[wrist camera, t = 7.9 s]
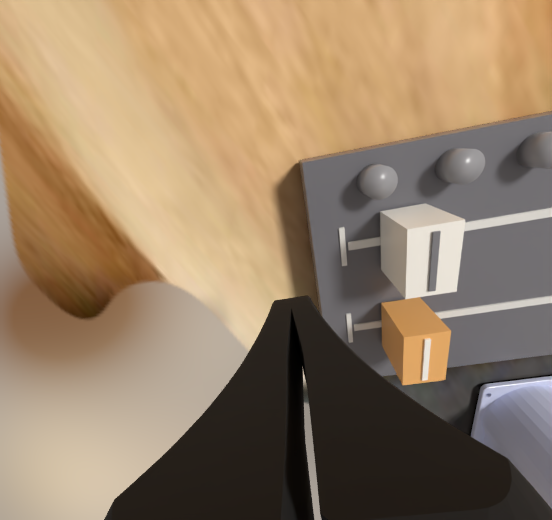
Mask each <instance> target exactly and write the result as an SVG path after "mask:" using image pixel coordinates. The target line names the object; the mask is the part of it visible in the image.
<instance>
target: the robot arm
mask: <svg viewBox="0 0 552 520" xmlns="http://www.w3.org/2000/svg"><path fill="white" fill-rule="evenodd" d="M302 366H303V368H302ZM303 370H304V375H305V379H306V383H307V389H308V398H309V407H310V416H311V425H312V435H313V444H314V453H315V463H316V473H317V482H318V494H319V505H320V514H321V518H322V520H552V376H547V377H538V378H530V379H522V380H514V381H506V382H498V383H490V384H484V385H482V386H481V388H480V392H479V397H478V402H477V407H476V412H475V417H474V422H473V426H472V431H471V436H469V435H467V434H465V433H464V432H462V431H460V430H459V429H457V428H455V427H454V426H452V425H450V424H449V423H447V422H446V421H444V420H443V419H441V418H440V417H438V416H437V415H435V414H434V413H432V412H430V411H429V410H427V409H426V408H424V407H423V406H421V405H420V404H419V403H417V402H416V401H414V400H413V399H412V398H410V397H409V396H408V395H406V394H405V393H404V392H402V391H401V390H399V389H398V388H397V387H395V386H394V385H393V384H391V383H390V382H388V381H387V380H386V379H385V378H383V377H382V376H381V375H380V374H379V373H377V372H376V371H375V370H374V369H372V368H371V367H370V366H369V365H368V364H367V363H366V362H364V361H363V360H362V359H361V358H360V357H359V356H358V355H357V354H356V353H355V352H354V351H353V350H352V349H351V348H349V347H348V345H347V344H346V343H345V342H344V341H343V340H342V339H341V338H340V337H339V336H338V335H337V334H336V333H335V332H334V330H333V329H332V328H331V327H330V326H329V324H328V323H327V322H326V321H325V319H324V318H323V317H322V316H321V314H320V313H319V311H318V310H317V308H316V307H315V305H314V304H313V302H312V300H311V298H310V297H309V296H301V297H295V298H288V299H282V300H275V301H274V302H273V304H272V307H271V309H270V312H269V314H268V317H267V319H266V321H265V323H264V325H263V327H262V329H261V331H260V333H259V335H258V337H257V339H256V341H255V343H254V344H253V346H252V348H251V349H250V351H249V353H248V355H247V356H246V358H245V359H244V361H243V363H242V364H241V366H240V367H239V369H238V370H237V372H236V373H235V374H234V376H233V377H232V378H231V380H230V381H229V383H228V384H227V385H226V387H225V388H224V389H223V391H222V392H221V393H220V394H219V395H218V397H217V398H216V399H215V400H214V402H213V403H212V404H211V405H210V407H209V408H208V409H207V410H206V411H205V412H204V413H203V415H202V416H201V417H200V418H199V419H198V420H197V421H196V422H195V423H194V424H193V425H192V427H190V428H189V430H188V431H187V432H186V433H185V434H184V435H183V436H182V437H181V438H180V439H179V440H178V441H177V442H176V443H175V444H174V445H173V446H172V447H171V448H170V449H169V450H168V451H167V452H166V453H165V454H164V455H163V456H162V457H161V458H160V459H159V460H158V461H157V462H156V463H154V464H153V465H152V466H151V467H150V468H149V469H148V470H147V471H146V472H145V473H143V474H142V475H141V476H140V477H139V478H138V479H137V480H136V481H135V482H134V483H133V484H131V485H130V486H129V487H128V488H127V489H126V490H125V491H124V492H123V493H121V494H120V495H119V496H118V497H117V498H116V499H115V500H114V502H113V503H112V505H111V507H110V509H109V511H108V513H107V516H106V517H105V519H104V520H314V514H313V506H312V497H311V489H310V480H309V471H308V462H307V453H306V444H305V430H304V399H303Z"/></svg>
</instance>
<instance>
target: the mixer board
mask: <svg viewBox="0 0 552 520" xmlns="http://www.w3.org/2000/svg"><path fill="white" fill-rule="evenodd" d="M299 164H300V172H301V179H302V186H303V194H304V201H305V208H306V215H307V223H308V230H309V237H310V245H311V252H312V259H313V266H314V274H315V281H316V288H317V296H318V303H319V310H320V314H321V316H322V317H323V318H324V319H325V321H326V322H327V323H328V324H329V326H330V327H331V328H332V329H333V330H334V332H335V333H336V334H337V335H338V336H339V337H340V338H341V339H342V340H343V341H344V342H345V343H346V344H347V345H348V347H349V348H351V349H352V350H353V351H354V352H355V353H356V354H357V355H358V356H359V357H360V358H361V359H362V360H363V361H364V362H366V363H367V364H368V365H369V366H370V367H371V368H372V369H374V370H375V371H376V372H377V373H379V374H380V375H381V376H387V375H395V374H396V372H395V370H394V368H393V366H392V364H391V362H390V360H389V358H388V356H387V354H386V353H385V351H384V349H383V347H382V317H381V303H384V302H391V301H397V300H404V299H405V298H404V297H403V296H402V294H401V293H400V292H399V291H398V290H397V288H396V287H395V286H394V285H393V284H392V282H391V281H390V280H389V279H388V278H387V276H386V275H385V274H384V273H383V271H382V270H381V236H380V211H385V210H391V209H396V208H402V207H408V206H413V205H419V204H425V203H426V204H428V205H431V206H433V207H436V208H438V209H441V210H443V211H446V212H448V213H450V214H453V215H455V216H458V217H460V218H463V219H465V228H464V236H463V244H462V252H461V260H460V268H459V276H458V284H457V292H451V293H444V294H437V295H431V296H424V297H420V298H421V299H422V300H423V301H424V302H425V303H426V304H427V305H428V306H429V307H430V309H431V310H432V311H433V312H434V313H435V314H436V315H437V316H438V317H439V318H440V319H441V320H442V321H443V323H444V324H445V325H446V326H447V327H448V328H449V329H450V330H451V337H450V345H449V353H448V362H447V368H449V367H457V366H465V365H472V364H480V363H488V362H496V361H503V360H511V359H519V358H527V357H534V356H542V355H550V354H552V111H549V112H544V113H539V114H534V115H528V116H523V117H518V118H513V119H508V120H503V121H498V122H493V123H487V124H482V125H477V126H472V127H467V128H462V129H457V130H452V131H446V132H441V133H436V134H431V135H426V136H421V137H416V138H411V139H405V140H400V141H395V142H390V143H385V144H380V145H375V146H370V147H365V148H359V149H354V150H349V151H344V152H339V153H334V154H329V155H324V156H318V157H313V158H308V159H303V160H299Z"/></svg>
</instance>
